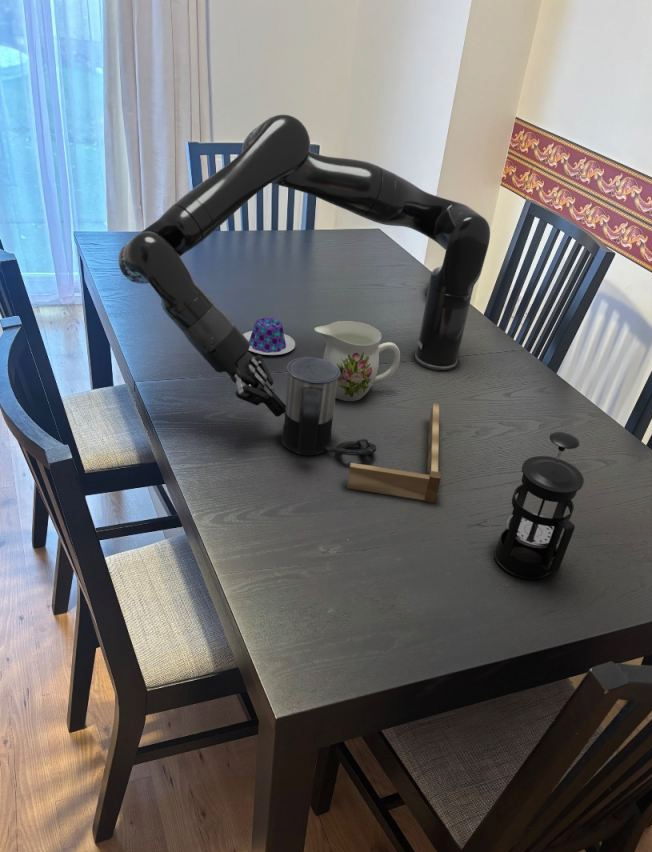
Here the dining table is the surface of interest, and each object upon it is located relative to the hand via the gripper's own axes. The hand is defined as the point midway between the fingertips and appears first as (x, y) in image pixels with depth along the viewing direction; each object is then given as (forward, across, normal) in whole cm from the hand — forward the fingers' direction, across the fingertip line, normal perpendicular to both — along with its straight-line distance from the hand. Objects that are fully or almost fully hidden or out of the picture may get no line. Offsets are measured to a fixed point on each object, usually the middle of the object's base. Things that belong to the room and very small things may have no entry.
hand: (282, 412), depth 139 cm
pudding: (-2, -36, -10) cm, 37 cm away
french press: (+34, +24, +27) cm, 50 cm away
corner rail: (+19, -1, +11) cm, 22 cm away
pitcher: (+12, -21, +4) cm, 24 cm away
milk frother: (+10, +1, +2) cm, 10 cm away
